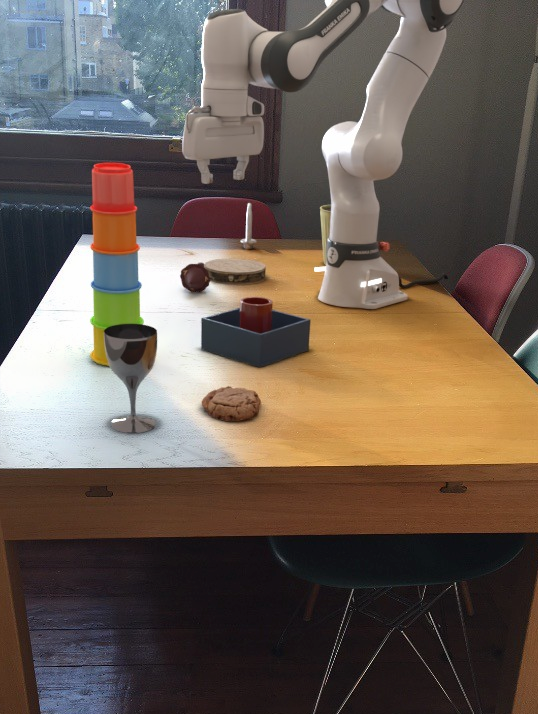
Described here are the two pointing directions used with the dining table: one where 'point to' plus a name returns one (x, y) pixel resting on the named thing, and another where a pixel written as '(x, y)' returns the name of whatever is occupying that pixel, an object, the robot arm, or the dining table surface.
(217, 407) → the cookie
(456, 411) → the dining table surface
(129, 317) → the stacking cups
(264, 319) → the canister
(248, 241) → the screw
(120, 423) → the metal goblet
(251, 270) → the wood slice
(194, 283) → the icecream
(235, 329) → the tote
